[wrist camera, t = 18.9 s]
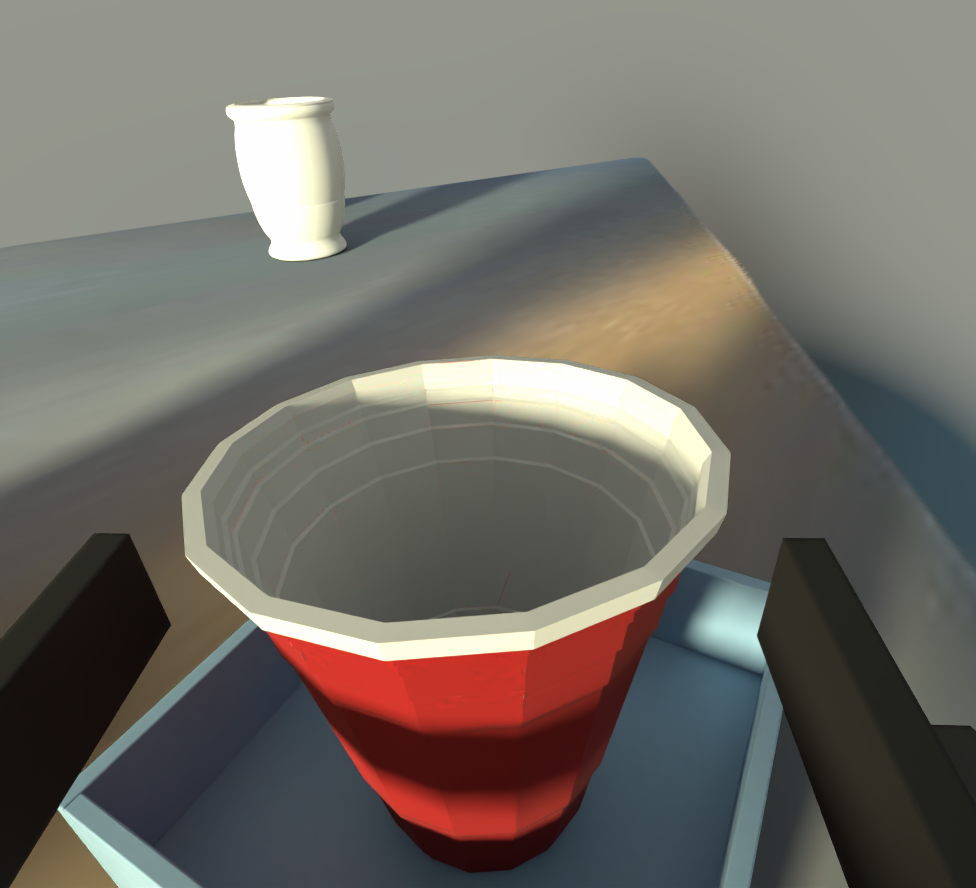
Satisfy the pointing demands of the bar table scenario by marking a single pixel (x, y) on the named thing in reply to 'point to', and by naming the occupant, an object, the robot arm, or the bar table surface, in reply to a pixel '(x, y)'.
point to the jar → (292, 173)
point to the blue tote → (365, 819)
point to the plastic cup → (464, 574)
